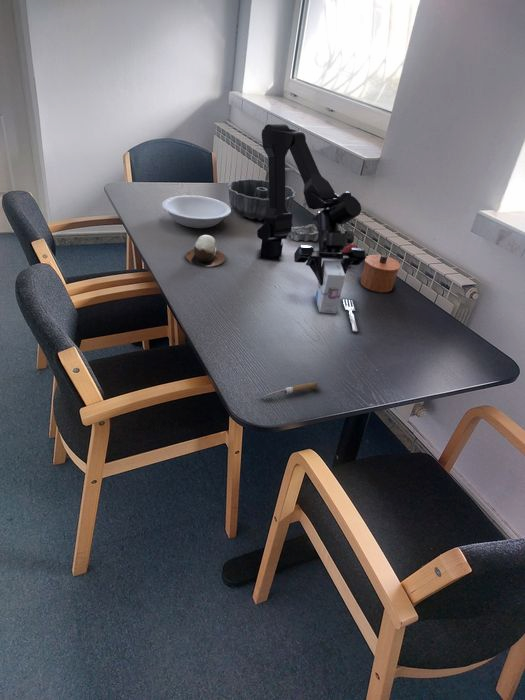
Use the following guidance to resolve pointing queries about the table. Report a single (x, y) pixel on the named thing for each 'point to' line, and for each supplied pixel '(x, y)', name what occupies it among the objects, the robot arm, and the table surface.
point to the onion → (349, 247)
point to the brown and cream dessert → (205, 252)
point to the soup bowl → (196, 210)
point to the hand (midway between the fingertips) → (331, 285)
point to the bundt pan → (254, 197)
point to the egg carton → (304, 233)
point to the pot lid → (382, 262)
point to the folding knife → (292, 389)
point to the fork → (351, 314)
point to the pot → (378, 279)
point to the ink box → (330, 287)
